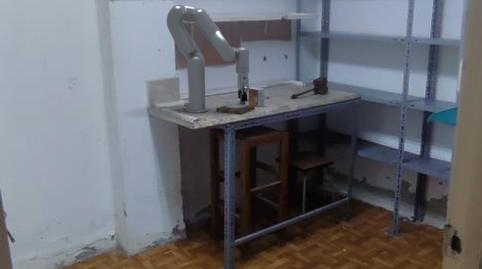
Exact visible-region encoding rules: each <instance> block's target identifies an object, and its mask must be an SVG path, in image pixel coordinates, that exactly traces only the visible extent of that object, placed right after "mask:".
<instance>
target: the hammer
mask: <svg viewBox="0 0 482 269" xmlns="http://www.w3.org/2000/svg"><path fill="white" fill-rule="evenodd" d="M327 82H328V80H327V77H326V76H319V77H318V78H315V79H313V80H312V85H313V88H311V89H307V90H304V91H302V92H299V93H293V94H292V95H290V99H297V98H298V97H300V96H303V95H306V94H308V93H311V92H313V94H314V95H318V94H320V96H322V95H325V94H326V93H329V87H328V84H327Z"/></svg>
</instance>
